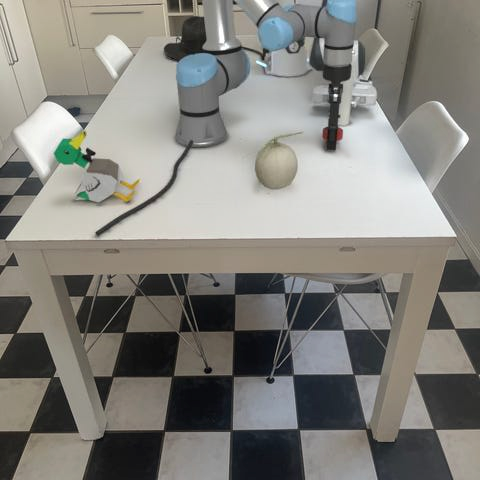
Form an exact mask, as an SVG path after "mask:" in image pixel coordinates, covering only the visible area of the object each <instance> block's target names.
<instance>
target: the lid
mask: <svg viewBox="0 0 480 480" xmlns="http://www.w3.org/2000/svg"><path fill="white" fill-rule="evenodd" d="M326 127H327V126H325V127H323V128H322V132H321V133H322V134H321V138H322V139H323V141H326V142H327V133H328V129H326ZM343 136H344V129H343V128H342V127H339V126H338V131H337V142H339V141H341V140H343Z"/></svg>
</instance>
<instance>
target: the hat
mask: <svg viewBox="0 0 480 480" xmlns="http://www.w3.org/2000/svg"><path fill="white" fill-rule="evenodd" d="M178 40H179V41H180V42H178ZM206 41H207V37H206V29H205V21H204V16H200V15H193V16H190V17H188V18H186V19H185V20H184V21H183V23H182V26H181V38H180V37H179V36H176V39H175V42H168V43H167V44H165V46H164V47H163V51H164V53H165V54H166V56H168V57H169V58H172V59H174V60H177V61H180V60H181V59H182V58H184V57H186V56H189V55H195V54H197V53H203V45H204V44H205V42H206Z"/></svg>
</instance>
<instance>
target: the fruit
mask: <svg viewBox="0 0 480 480" xmlns="http://www.w3.org/2000/svg"><path fill="white" fill-rule="evenodd" d="M301 134H304V131H300V132H295V133H289V134H283V135H282V134H281V135H278V136H274V137H273V138H271V139H270V140H269V141H268V142H266V144H265V145H264V146H262V147H261V148H260V150H259V151H258V153H257V154H256V158H255V159H254V160H255V161H254V171H255V175H256V179H257V180H258V182H259V183H260V184H261V185H262V186H264V187H265V188H267V189H268V190H274V191H276V190H282V189H285V188H287V187H288V186H290V185H291V184H292V182H293V181H294V180H295V178H296V176H297V173H298V167H299V166H298V158H297V155H296V153H295V150H294V149H293V148H292V147H291V146H290V145H288V144H286V143H284V142H281V141H280V142H279V140H281V139H283V138H287V137H293V136H296V135H301Z"/></svg>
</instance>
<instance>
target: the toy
mask: <svg viewBox="0 0 480 480" xmlns="http://www.w3.org/2000/svg"><path fill="white" fill-rule="evenodd" d="M87 135H88V133H87V130H86V129H84V130H83V131H82V132H81V133H79V134H78V135H76V136H74V137H72V138H62V139H61V140H60V142H59V143H58V145H57V147H56V149H55V150H54V151H53V155H54V157H55V159H56V161H57V162H58V163H59V164H62V165H64V166H69V165H70V166H71V165H72V166H73V165H74V164H76V165H78V166H79V167H80V168H83V169H85V170H86V171H85V172H84V173H85V174H84V175H83V179H82V181H81V183H80V184H79V186H78V187H77V189H76V191H75V193H74V197H76V198H75V199H74V200H75V201H85V200H88V201H92V202H96V203H100V202H102V201H104V200H105V199H107V198H109V197H110V196H112V195H115V196H116V197H117V198H119V199H121V200H123V201H124V202H126V203H128V202H129V201H130V200H131V198H133V196H134V195H135V191H136V190H135V188H136V187H137V186H138V184H139V183H140V178H138V179H137V180H136V181H135V182H133V183H132V184H131V183H128V182H126V181H124V180H123V178H124V174H123V172H122V170H121V167H120V165H119V164H118V163H117V162H115V161H113V160H111V159H110V158H98V157H97V158H96V157H93V156H96V154H97V152H96V151H94V150H92V149H91V148H89V147H86V149H85V152H86V154H85V153H83V152H82V148H81V145H82V143H83V142H84V140H85V139H86V137H87ZM92 157H93V158H92ZM119 184H121V185H123V186H124V187H126V188H128V189H130V190H131V191H132V192H130V193H129V194H128V195H123V194H121V193H120V192H119V193H118V192H116V190H117V188H118V186H119Z"/></svg>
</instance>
